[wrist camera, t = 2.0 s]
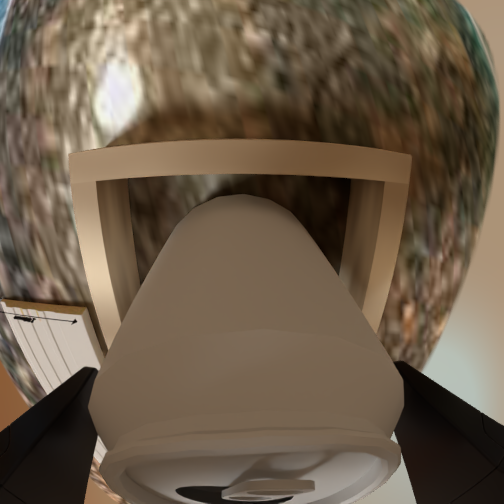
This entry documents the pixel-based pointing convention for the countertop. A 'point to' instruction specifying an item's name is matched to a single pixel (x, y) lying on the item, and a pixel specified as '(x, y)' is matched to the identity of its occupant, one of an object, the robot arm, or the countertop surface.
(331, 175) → the rack
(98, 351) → the baseboard
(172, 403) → the can
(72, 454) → the robot arm
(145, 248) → the countertop surface
